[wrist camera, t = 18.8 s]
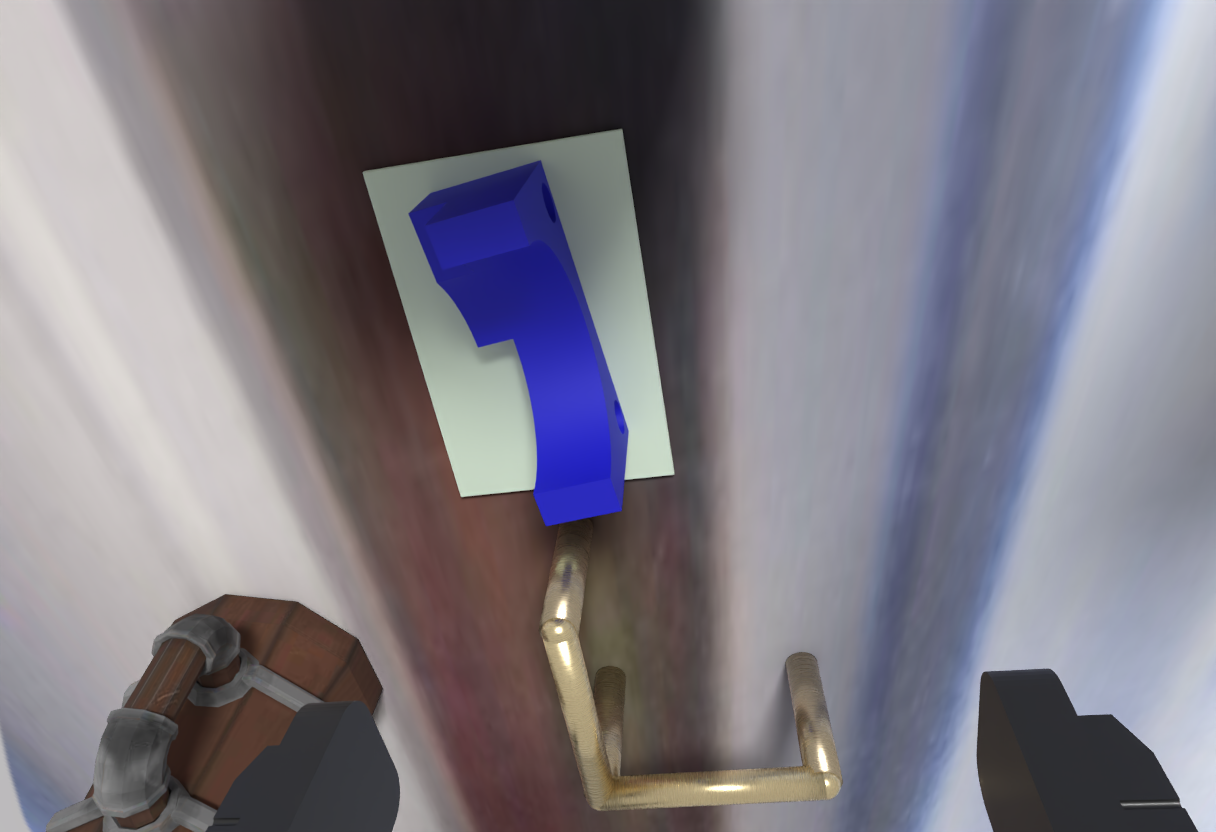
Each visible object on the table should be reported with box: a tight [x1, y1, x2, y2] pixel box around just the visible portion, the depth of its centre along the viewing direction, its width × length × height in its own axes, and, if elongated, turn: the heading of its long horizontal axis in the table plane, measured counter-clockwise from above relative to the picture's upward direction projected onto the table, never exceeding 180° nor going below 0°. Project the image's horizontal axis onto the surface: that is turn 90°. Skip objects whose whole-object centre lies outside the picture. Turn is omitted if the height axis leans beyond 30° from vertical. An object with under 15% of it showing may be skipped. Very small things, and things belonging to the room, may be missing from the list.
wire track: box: [539, 518, 843, 811], centre depth 37 cm, size 12×12×8 cm
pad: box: [363, 129, 674, 497], centre depth 34 cm, size 10×15×1 cm, turn 10°
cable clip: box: [408, 160, 629, 526], centre depth 31 cm, size 12×4×6 cm, turn 17°
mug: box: [46, 594, 383, 832], centre depth 37 cm, size 16×12×15 cm
